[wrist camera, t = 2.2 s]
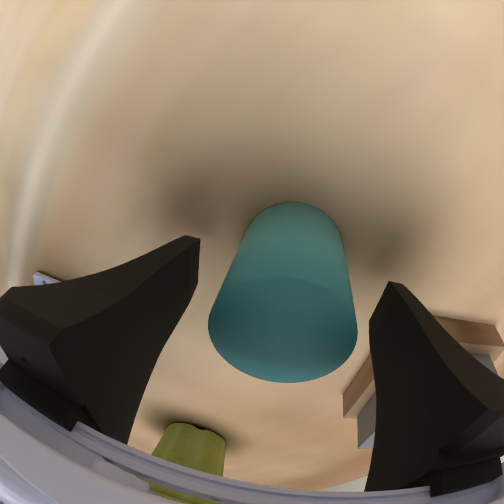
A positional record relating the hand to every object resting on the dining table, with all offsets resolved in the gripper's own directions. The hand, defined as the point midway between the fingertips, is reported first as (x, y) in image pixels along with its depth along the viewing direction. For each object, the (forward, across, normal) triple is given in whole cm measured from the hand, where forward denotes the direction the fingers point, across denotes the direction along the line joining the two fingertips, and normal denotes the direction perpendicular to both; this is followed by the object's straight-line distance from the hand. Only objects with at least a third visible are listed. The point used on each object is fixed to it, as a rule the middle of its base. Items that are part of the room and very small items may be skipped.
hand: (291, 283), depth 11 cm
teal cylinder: (+3, 0, 0) cm, 3 cm away
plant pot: (+3, +4, +23) cm, 24 cm away
